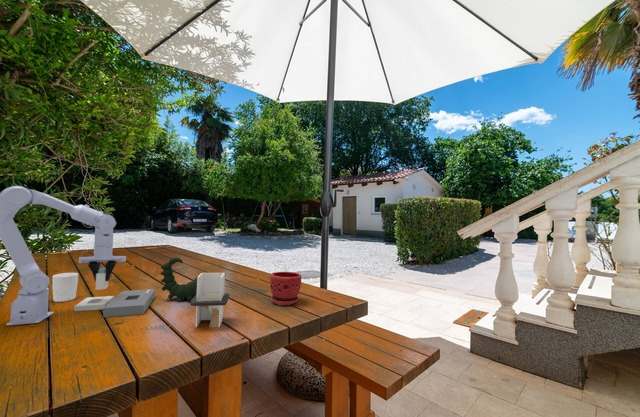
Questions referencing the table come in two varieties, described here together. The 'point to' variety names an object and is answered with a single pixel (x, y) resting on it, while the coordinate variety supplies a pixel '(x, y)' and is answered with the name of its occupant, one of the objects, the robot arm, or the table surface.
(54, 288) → the white cup
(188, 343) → the table surface
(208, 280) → the white grey toy chair
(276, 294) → the plant pot
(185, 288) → the toy figurine
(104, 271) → the plug
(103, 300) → the square frame
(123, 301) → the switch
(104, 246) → the robot arm
